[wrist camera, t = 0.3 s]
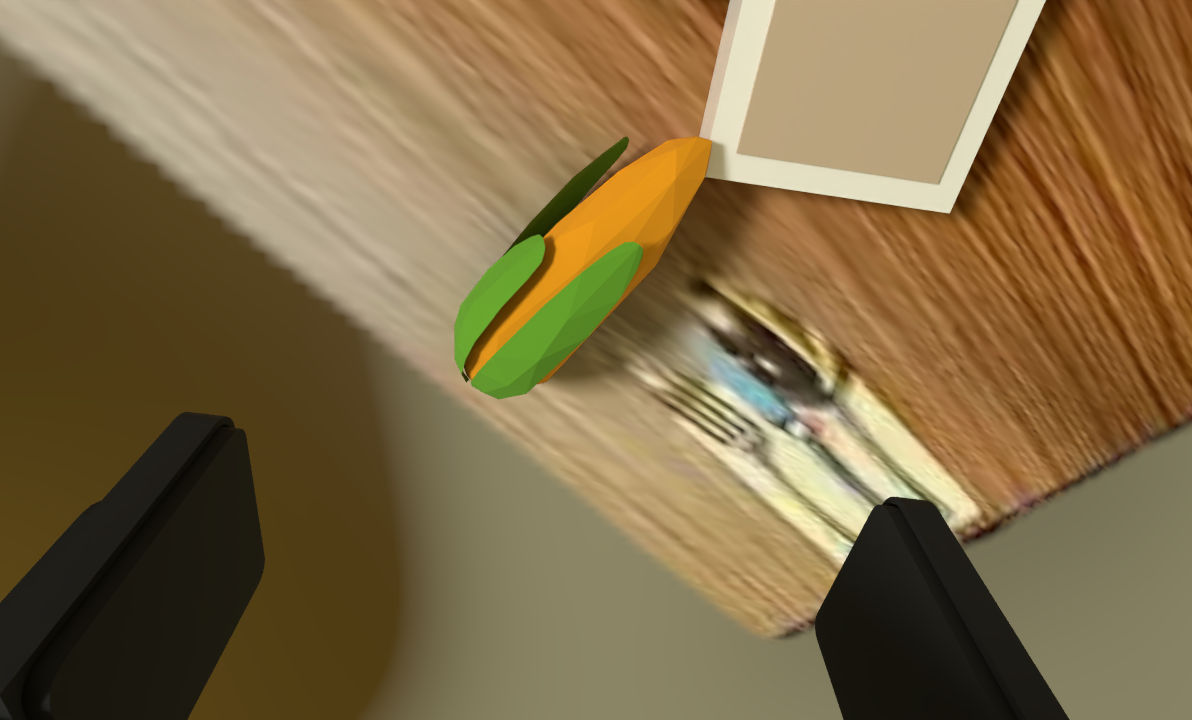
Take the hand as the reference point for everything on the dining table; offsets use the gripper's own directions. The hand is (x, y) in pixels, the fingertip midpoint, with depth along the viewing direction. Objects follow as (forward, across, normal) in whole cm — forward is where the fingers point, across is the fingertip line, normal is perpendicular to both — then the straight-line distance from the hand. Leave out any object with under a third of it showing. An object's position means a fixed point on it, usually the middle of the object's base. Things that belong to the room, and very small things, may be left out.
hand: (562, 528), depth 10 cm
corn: (+31, -1, +8) cm, 32 cm away
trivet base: (+31, -14, -6) cm, 34 cm away
